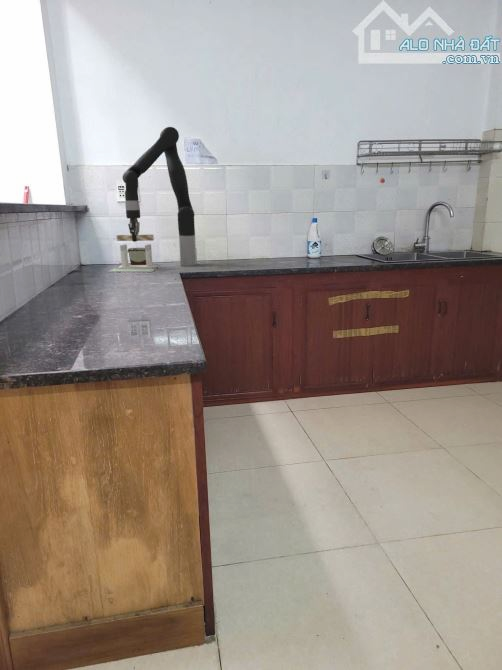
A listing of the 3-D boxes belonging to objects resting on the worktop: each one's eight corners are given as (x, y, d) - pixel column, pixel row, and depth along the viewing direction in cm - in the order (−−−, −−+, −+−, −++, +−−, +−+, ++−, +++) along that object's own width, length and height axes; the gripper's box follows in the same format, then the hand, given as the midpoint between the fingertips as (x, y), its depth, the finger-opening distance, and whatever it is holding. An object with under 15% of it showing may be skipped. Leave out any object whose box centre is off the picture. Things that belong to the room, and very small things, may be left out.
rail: (153, 240, 265) (153, 234, 264) (152, 240, 262) (152, 235, 261) (118, 240, 266) (118, 234, 265) (117, 240, 263) (116, 235, 262)
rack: (156, 267, 271) (154, 244, 267) (153, 269, 264) (151, 245, 261) (122, 267, 272) (120, 244, 269) (118, 269, 266) (116, 245, 262)
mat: (155, 269, 262) (155, 269, 262) (151, 272, 254) (151, 271, 254) (113, 269, 263) (113, 269, 263) (108, 272, 256) (108, 271, 256)
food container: (152, 264, 282) (150, 247, 279) (149, 265, 276) (147, 248, 273) (132, 264, 283) (130, 247, 280) (128, 265, 278) (127, 248, 275)
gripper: (135, 209, 252) (138, 242, 257) (143, 208, 265) (145, 239, 270) (122, 209, 253) (125, 242, 257) (129, 209, 266) (132, 240, 271)
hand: (135, 241), depth 264 cm, fingers closed on rail, 3 cm apart
